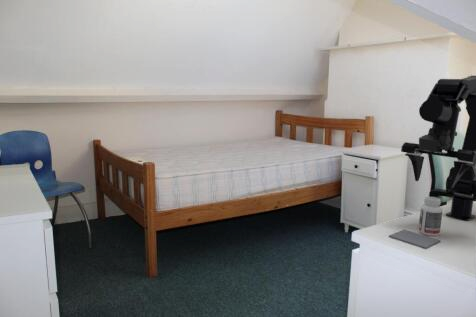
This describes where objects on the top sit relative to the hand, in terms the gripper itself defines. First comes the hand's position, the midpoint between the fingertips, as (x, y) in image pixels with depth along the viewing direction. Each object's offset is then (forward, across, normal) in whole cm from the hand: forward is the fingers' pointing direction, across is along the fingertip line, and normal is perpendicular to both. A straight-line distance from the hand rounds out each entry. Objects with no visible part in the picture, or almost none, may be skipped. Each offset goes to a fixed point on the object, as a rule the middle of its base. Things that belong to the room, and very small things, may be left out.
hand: (433, 184), depth 110 cm
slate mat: (+15, 0, -5) cm, 16 cm away
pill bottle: (+14, 0, +3) cm, 14 cm away
